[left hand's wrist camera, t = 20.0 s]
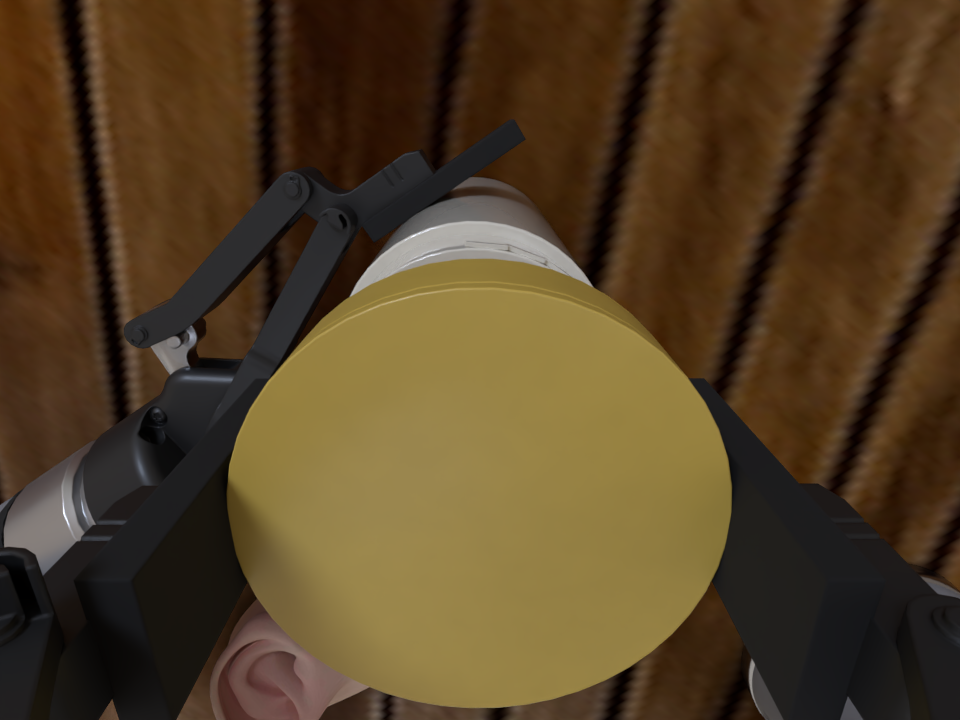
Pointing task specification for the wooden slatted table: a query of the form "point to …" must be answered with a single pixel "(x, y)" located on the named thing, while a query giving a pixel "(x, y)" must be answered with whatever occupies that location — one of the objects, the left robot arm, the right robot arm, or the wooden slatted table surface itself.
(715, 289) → the wooden slatted table surface
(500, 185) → the jar
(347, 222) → the right robot arm
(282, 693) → the anatomical model
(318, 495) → the lid
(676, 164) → the wooden slatted table surface
